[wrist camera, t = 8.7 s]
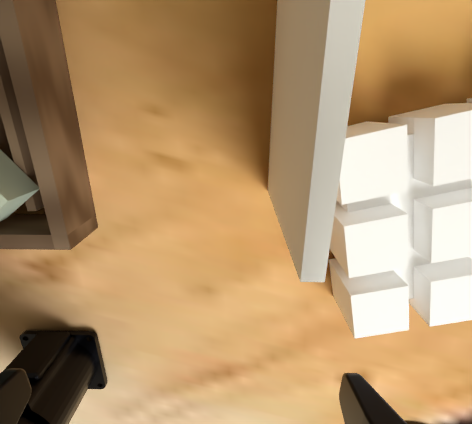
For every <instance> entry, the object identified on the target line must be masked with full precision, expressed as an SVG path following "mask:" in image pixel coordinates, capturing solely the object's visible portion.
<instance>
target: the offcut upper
mask: <svg viewBox="0 0 472 424" xmlns="http://www.w3.org/2000/svg"><path fill="white" fill-rule="evenodd" d="M38 190H39V187H38V186H37V185H36V184H35V183H34V182H33V181H32V180H31V179H30V178H29V177H28V176H27V175H26V174H25V173H24V172H23V171H22V170H21V169H20V168H19V167H18V166H17V165H16V164H15V163H14V162H13V161H12V160H11V159H10V158H9V157H8V156H7V155H6V154H5V153H4V152H3V151H2V150H1V149H0V221H2V220H4V219H6V218H8V217H9V216H10V215H11V214H12V213H13V212H14V211H15V210H17V209H18V208H19V207H20V206H21V205H22V204H23V203H24V202H25V201H27V200H28V199H29V198H30V197H31V196H32V195H33V194H34V193H36V192H37V191H38Z"/></svg>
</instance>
